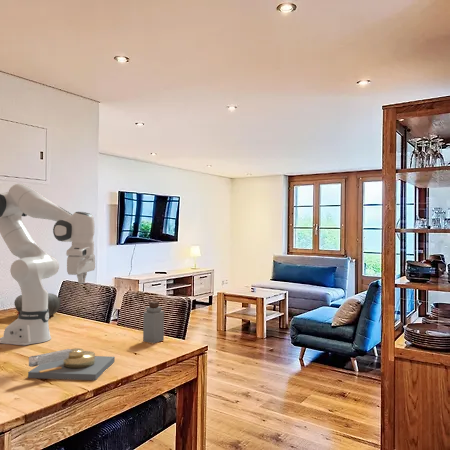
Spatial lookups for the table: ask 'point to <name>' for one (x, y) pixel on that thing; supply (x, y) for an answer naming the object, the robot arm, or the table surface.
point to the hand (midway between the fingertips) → (81, 283)
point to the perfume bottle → (153, 323)
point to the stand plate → (72, 370)
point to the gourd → (52, 303)
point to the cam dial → (65, 358)
